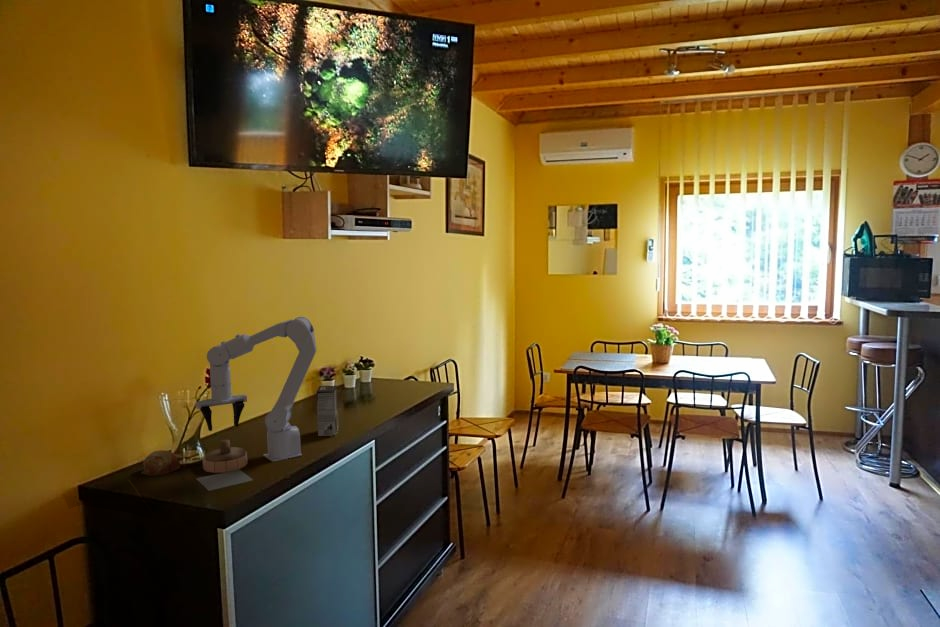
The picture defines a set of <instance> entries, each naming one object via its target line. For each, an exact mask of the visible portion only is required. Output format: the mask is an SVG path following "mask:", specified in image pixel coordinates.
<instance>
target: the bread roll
mask: <svg viewBox="0 0 940 627" xmlns="http://www.w3.org/2000/svg"><path fill="white" fill-rule="evenodd" d="M180 460H181V458H180V457H179V456H178V455H177V454H175V453H174V452H172V451H169V450H166V449H161V450H154V451H152V452H150V453H149V454H148V455H147V456H146V457H145V458H144V460H143V461H142V463H143V465H142V472H141V474H142V475H147V476H150V477H151V476H161V475H162V476H163V475H166V474H169V473H172V472H175V471H178V469H180V467H181V462H180Z"/></svg>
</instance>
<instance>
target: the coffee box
mask: <svg viewBox="0 0 940 627" xmlns="http://www.w3.org/2000/svg"><path fill="white" fill-rule="evenodd" d="M337 388H338V386H337V385H319V386H318V387H317V390H316V411H317V412H316V414H317V415H316V416H317V436H327V435H336V434H337V435H338V432H337V431H339V429H338V428H339V411H338V410H339V408H338V407H339V406H338V389H337ZM337 435H336V436H337Z"/></svg>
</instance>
